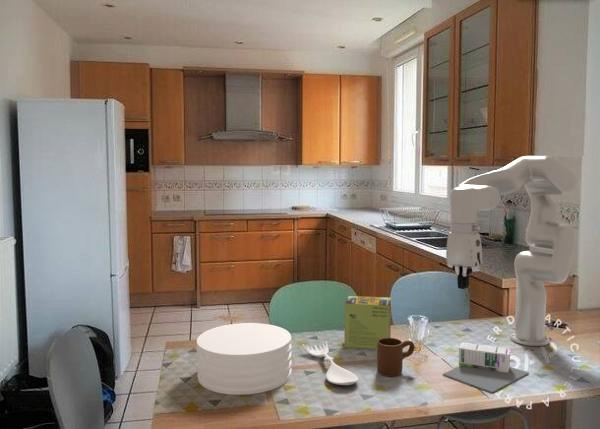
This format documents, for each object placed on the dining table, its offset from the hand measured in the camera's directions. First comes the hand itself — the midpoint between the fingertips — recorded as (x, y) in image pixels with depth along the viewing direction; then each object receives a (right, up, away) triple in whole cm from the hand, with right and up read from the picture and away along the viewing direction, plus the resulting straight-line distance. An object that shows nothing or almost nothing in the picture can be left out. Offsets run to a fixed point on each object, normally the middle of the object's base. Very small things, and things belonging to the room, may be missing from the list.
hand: (463, 287), depth 160 cm
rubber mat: (+5, -25, -4) cm, 26 cm away
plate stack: (-66, -26, -2) cm, 71 cm away
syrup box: (0, -21, +4) cm, 21 cm away
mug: (-21, -25, -1) cm, 33 cm away
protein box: (-26, -23, +23) cm, 42 cm away
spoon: (-41, -25, +2) cm, 48 cm away
